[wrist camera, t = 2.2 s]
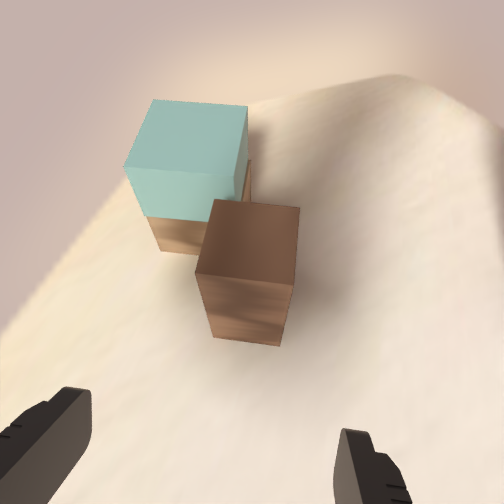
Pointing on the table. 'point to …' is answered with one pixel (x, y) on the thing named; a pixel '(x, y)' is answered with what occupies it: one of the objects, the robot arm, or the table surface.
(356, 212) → the table surface
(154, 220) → the tower base
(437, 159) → the table surface
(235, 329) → the post
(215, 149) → the tower top
